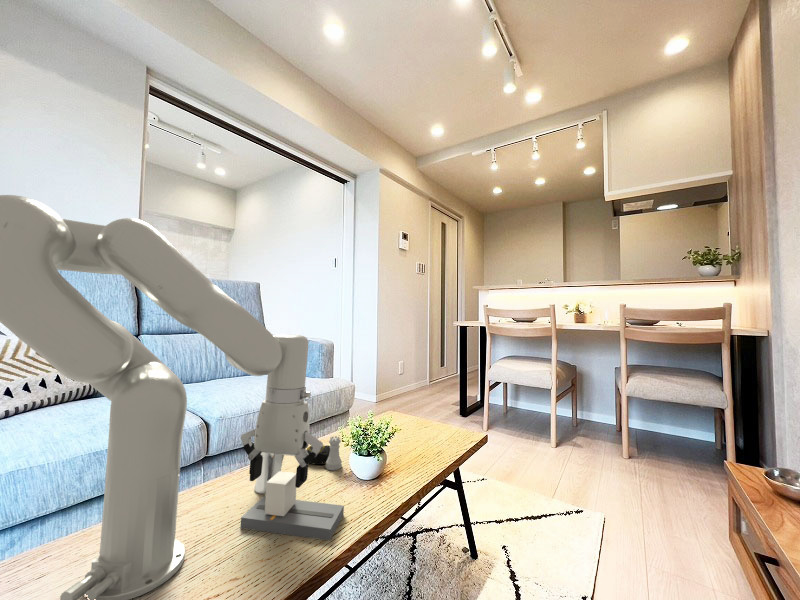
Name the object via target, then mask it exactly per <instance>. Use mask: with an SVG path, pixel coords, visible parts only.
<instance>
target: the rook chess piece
mask: <svg viewBox="0 0 800 600" xmlns="http://www.w3.org/2000/svg"><path fill="white" fill-rule="evenodd" d="M341 442H342V441H341V438H340V436H337V435H335V436H331V437H330V438H329V440H328V443H329V444H330V445H329V446H330V447H329V448H330V453H329V457H328V460H327V461H326V463H325V468H326V470H327V471H332V472H333V471H338V470H340V469H341V468H342V465H343V464H342V462H343V461H342V459H341V457H340V444H341Z"/></svg>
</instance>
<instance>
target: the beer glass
mask: <svg viewBox="0 0 800 600" xmlns="http://www.w3.org/2000/svg"><path fill="white" fill-rule="evenodd" d="M261 455H263V456H262V457H263V462H262V473H261V476H259V477H258V478H257V479H255V486H254V491H255V493H257V494H259V495H266V482H267V481H269V480H270V479H271V478H272V477H273V476H274V475H275V474H276V473H278V472H279V471H282V466H283V461H284V457H285V455H279V454H272V453H264V452H262V453H261Z"/></svg>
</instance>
